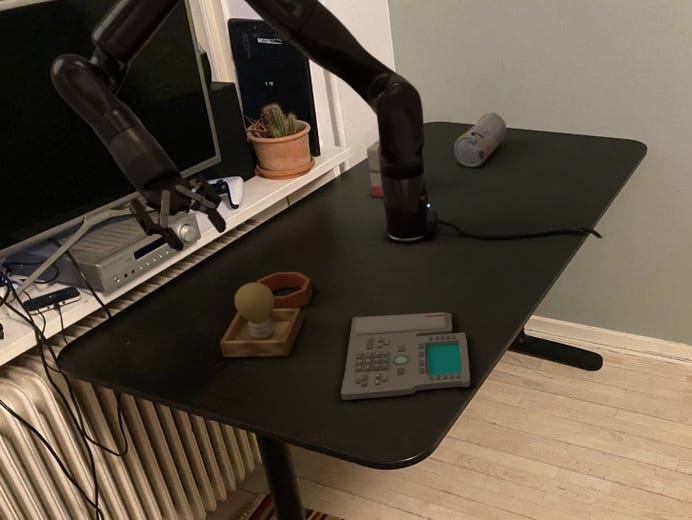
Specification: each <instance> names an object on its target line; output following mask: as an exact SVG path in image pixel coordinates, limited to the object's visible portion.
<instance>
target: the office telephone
mask: <svg viewBox="0 0 692 520" xmlns="http://www.w3.org/2000/svg"><path fill="white" fill-rule="evenodd" d="M452 319H453V318H452V314H451V313H450V312H444V311H439V312H426V313H425V312H424V313H406V314H405V313H404V314H388V315H385V314H384V315H370V316H354V317H352V321H351V328H350V335H349V341H348V348H347V356H346V362H345V370H344V377H343V379H342V384H341V391H340V397H341V400H343V401H347V400H348V401H349V400H350V401H351V400H362V399H373V398H374V399H375V398H384V397H385V398H386V397H396V396H406V395H412V394H415V393H416V391H424V390H435V389H447V388H459V387H460V388H469V387H470V386H471V374H470V373H471V372H470V361H469V352H468V351H469V350H468V342H467V337H466V333H465V332H456V333H455V332H454V333H453V322H452Z"/></svg>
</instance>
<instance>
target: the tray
mask: <svg viewBox="0 0 692 520" xmlns="http://www.w3.org/2000/svg"><path fill="white" fill-rule="evenodd" d="M269 317H270V319H271V324H272V328H273V333H272V334H271V335H270V336H269V337H268V338H266V339H256V338H254V337H252V335H251V331H250V327H249V324H248V322H249V320H247V319H246V318H244V317H243V316H242V315H241V314H240V313H239V312H238V311H237V313H236V314H235V316H234V317H233V319H232V321H231V322H230V325H229V327H228V328H227V330H226V332H225V333H224V335H223V337H222V338H221V339H220V342H219V346H220V350H221V353H222V356H223V358H247V357H249V358H253V357H254V358H255V357H289V355H290V353H291V350H292V348H293V346H294V343H295V342H296V341H295V340H296V339H297V337H298V333H299V331H300V329H301V326H302V325H303V321H304V320H303V315H302V311H301V307H299V308H292V309H273V310H272V312H271V314H270V315H269Z"/></svg>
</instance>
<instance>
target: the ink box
mask: <svg viewBox="0 0 692 520" xmlns="http://www.w3.org/2000/svg"><path fill="white" fill-rule="evenodd" d="M378 146H379V139H377V140H376V141H374V142H373V143H372V144H371V145H370V146H368V147H367V149H366V156H367V162H368V163H367V164H368V170H369V178H370V186H371V193H372V197H380V198H383V191H382V183H381V174H380V165H379V157H378Z"/></svg>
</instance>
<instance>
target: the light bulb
mask: <svg viewBox="0 0 692 520" xmlns="http://www.w3.org/2000/svg"><path fill="white" fill-rule="evenodd" d="M274 296H275V295H274V294H273V291H271V290H270V289H269V288H268V287H267V286H265V285H263V284H260V283H256V282H249V283H245V284H243V285H242V286H241V287H240V288H239V289H237V291H236V292H235V295H234V306H235V308H236V311H237V312H239V313H240V314H241V315H242V316H243V317H244V318H246V319H247V320H249V322H248V324H249V327H250V331H251V335H252V337H254V338H256V339H266V338H268V337H269V336H270V335H271V334H272V333H273V328H272V324H271V319H270V317H269V315H270V314H271V312H272V310H273V307H274Z"/></svg>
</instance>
